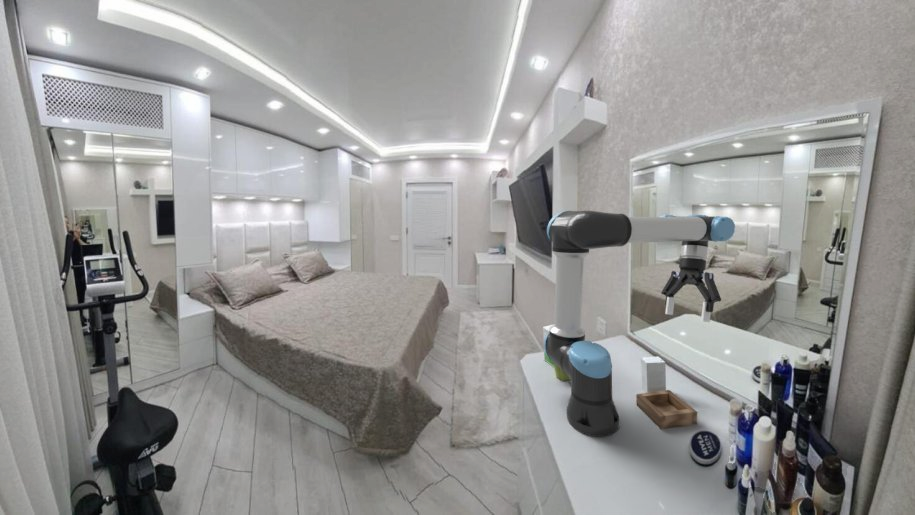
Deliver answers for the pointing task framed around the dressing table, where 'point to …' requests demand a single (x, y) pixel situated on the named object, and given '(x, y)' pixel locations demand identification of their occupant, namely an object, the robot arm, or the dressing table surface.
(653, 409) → the walnut square tray
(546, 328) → the skincare box
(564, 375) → the plant pot
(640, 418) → the dressing table surface
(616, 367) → the dressing table surface
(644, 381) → the skincare box
